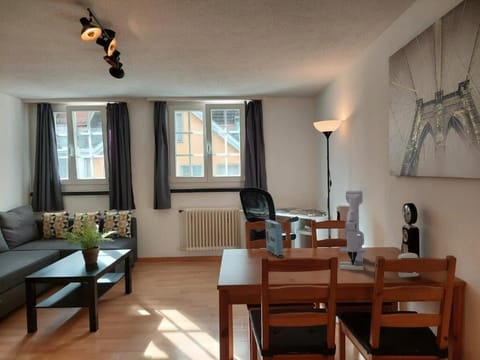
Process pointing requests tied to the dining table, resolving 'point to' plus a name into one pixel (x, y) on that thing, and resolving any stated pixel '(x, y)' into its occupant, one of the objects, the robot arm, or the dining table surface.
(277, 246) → the gum box
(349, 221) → the robot arm
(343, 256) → the dining table surface
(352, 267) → the channel
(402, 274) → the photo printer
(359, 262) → the slate block
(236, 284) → the dining table surface
